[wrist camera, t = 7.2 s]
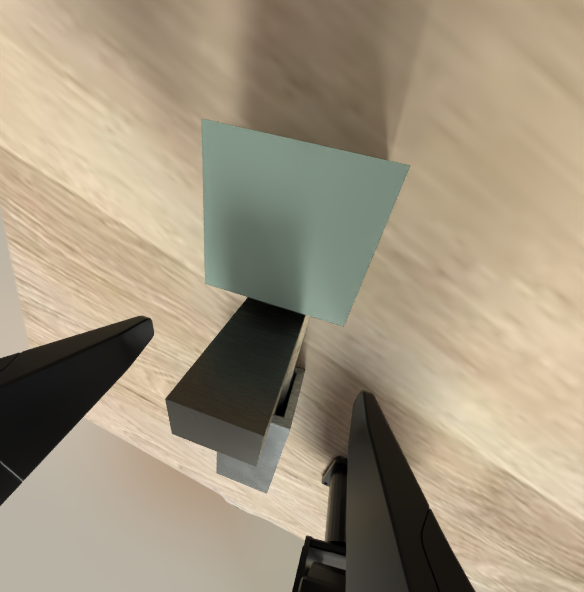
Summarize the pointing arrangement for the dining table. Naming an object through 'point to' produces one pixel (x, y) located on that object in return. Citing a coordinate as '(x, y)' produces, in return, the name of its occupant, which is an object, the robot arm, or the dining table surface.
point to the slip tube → (239, 381)
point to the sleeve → (265, 444)
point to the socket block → (292, 218)
